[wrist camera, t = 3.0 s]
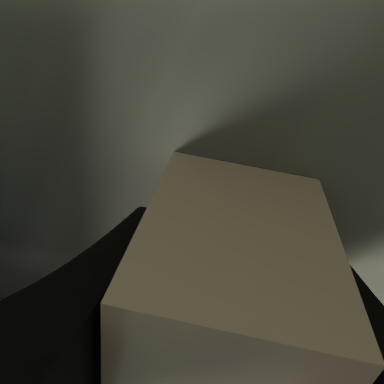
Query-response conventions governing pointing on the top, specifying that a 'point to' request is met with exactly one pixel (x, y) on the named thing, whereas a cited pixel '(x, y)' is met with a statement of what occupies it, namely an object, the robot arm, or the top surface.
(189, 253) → the block
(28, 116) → the top surface
